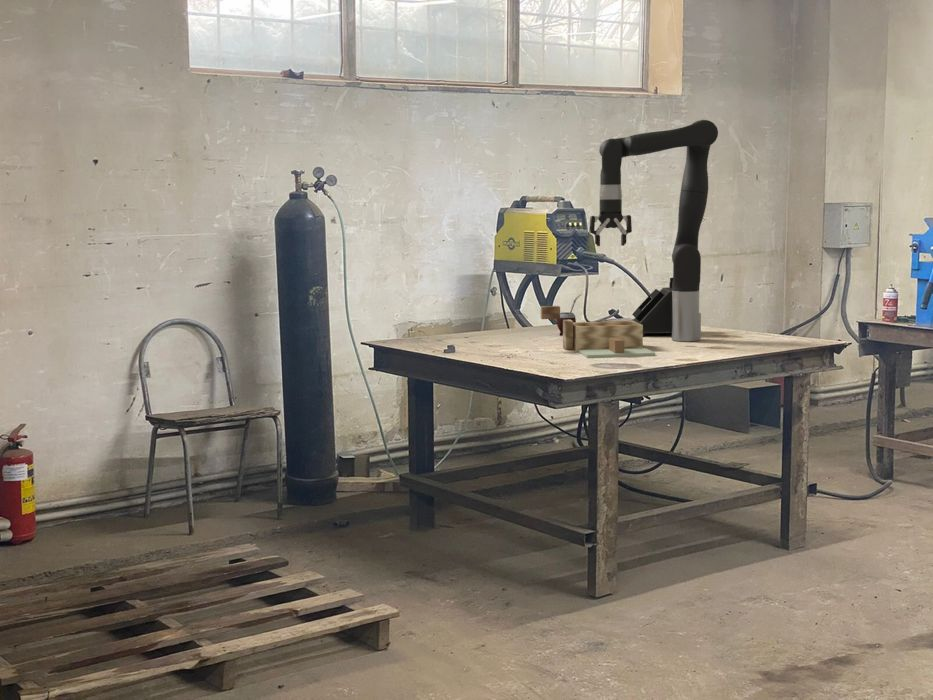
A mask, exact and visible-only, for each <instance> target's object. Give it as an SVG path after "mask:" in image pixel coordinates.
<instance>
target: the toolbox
mask: <svg viewBox="0 0 933 700" xmlns="http://www.w3.org/2000/svg"><path fill="white" fill-rule="evenodd" d="M616 337H618V338H620V339H622V340H624V349H629V348H644V347H643V346H644V343H643V342H644V341H643V338H644V336H643V325H641V324H639V323H637V322H635V321H632V320H630V321H629V320H628V321H627V320H626V321H587V322H576V323H573V321H572V320H563V336H562V348H563V349H564V350H565V351H571V350H572V351H576V352H579V350H597V349H609V338H616Z"/></svg>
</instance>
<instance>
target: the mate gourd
mask: <svg viewBox="0 0 933 700" xmlns="http://www.w3.org/2000/svg"><path fill="white" fill-rule="evenodd" d="M581 296H582V293H580V294H578V296H576V297H575V299H573V301H572V306H571V308H570V311H569V312H568V311H567V312H560V319H556V325H557V328H558V330H559V336H560V337H563V320H572V321H573V323H577V321H576V320H577V319H576V315H575V313H574V312H573V310H574V306H575V305H576V304H575V303H576V302H577V299H579V298H580V297H581Z"/></svg>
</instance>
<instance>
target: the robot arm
mask: <svg viewBox="0 0 933 700" xmlns="http://www.w3.org/2000/svg"><path fill="white" fill-rule="evenodd" d="M718 135H719V131H718V126H717V125H716V124H715V123H714V122H712V121H711V120H708V119H700V120H697V121H696V120H695V122H693V123H691V124H690V125H686V126H682V127H678V128H674V129H673V128H672V129H667V130H659V131H650V132H649V131H648V132H642V133H637V134H633V135H629V136H626V137H624V136H623V137H619V138H618V137H617V138H607V139H606V140H604V141H602V142H601V144H599V145H600V146H599V149H598V150H599V155H600V156H601V169H600V177H599V179H600V183H599V184H600V185H599V186H600V187H599V213H598V215H597V216H595V215H591V216H590V217H589V231H588V232H589V233H590V234H592V235H594V244H595V245H596V247H600V246H601V235H600V234H601V233H602V232H603V230H604V229H610V228H611V229H616V228H617V229H618V231H619V232H620V233H621V234H620V235H621V236H620V238H621V239H620V245H621V247H622V246H623V247H624V246H625V245H626V244H627V235H628V234H630V233H631V234H632V231H633V230H632V229H633V228H632V216H631V214H627V215H623V211H622V210H623V209H622V208H623V203H622V202H623V199H622V198H623V193H622V192H623V191H622V171H621V167H622V162H623V161H622V159H623V158H627V157H635V156H642V155H648V154H654V153H658V152H662V151H666V150H671V149H676V148H684V147H685V148H686V155H685V156H686V158H685V166H684V170H683V176H682V180H681V185H680V186H681V187H680V194H679V203H678V204H679V205H678V218H677V221H678V222H677V223H678V224H677V232H676V238H675V242H674V245H673V246H674V247H673V250H672V254H671V261H672V264H673V267H672V268H673V269H672V272H673V273H672V278H673V283H672V290H673V291H672V333H671V340H672V341H675V342H696V341H698V342H699V341H701V339H702V338H701V337H702V335H701V333H702V329H701V328H702V326H701V325H702V324H701V323H702V314H701V312H700V285H701V273H702V272H701V263H702V261H701V260H702V257H701V253H700V251H699V235H700V233H699V232H700V229H701V226H702V222H703V219H704V216H705V212H706V209H707V201H708V195H709V174H708V159H709V154H710V148H711V146H712V145H713V144H714V143H715V142H716V140H717V139H718ZM623 220H624V222H625V223H626V229H625V228H624V227H623V225H622V222H623ZM597 221H598V222H600V224H599V226H598V227H597V229H596V230H595V228H596V227H595V226H596V223H597Z"/></svg>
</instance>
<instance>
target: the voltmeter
mask: <svg viewBox="0 0 933 700" xmlns="http://www.w3.org/2000/svg"><path fill="white" fill-rule="evenodd" d="M668 283H669V287H662V288H661V289H660V290H658V289H657V288H655V289H654V290H652V292H651V293H650V294H649V295H648V296H647V297H646V299H644V300H643V302H641V304H640V305H639V306H638V307H637V308H636V309H635V310H634V312H633V313H632V314H631V315H632V316H633V317H634V318H633V319H632V320H631V321H635V322H637V323H639V324H641V325H643V337H646V334H664V333H665V334H670V333H671V334H672V291H673V290H672V283H673V277H670V278H669V282H668ZM650 296H651V297H652V299H651V298H650Z"/></svg>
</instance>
